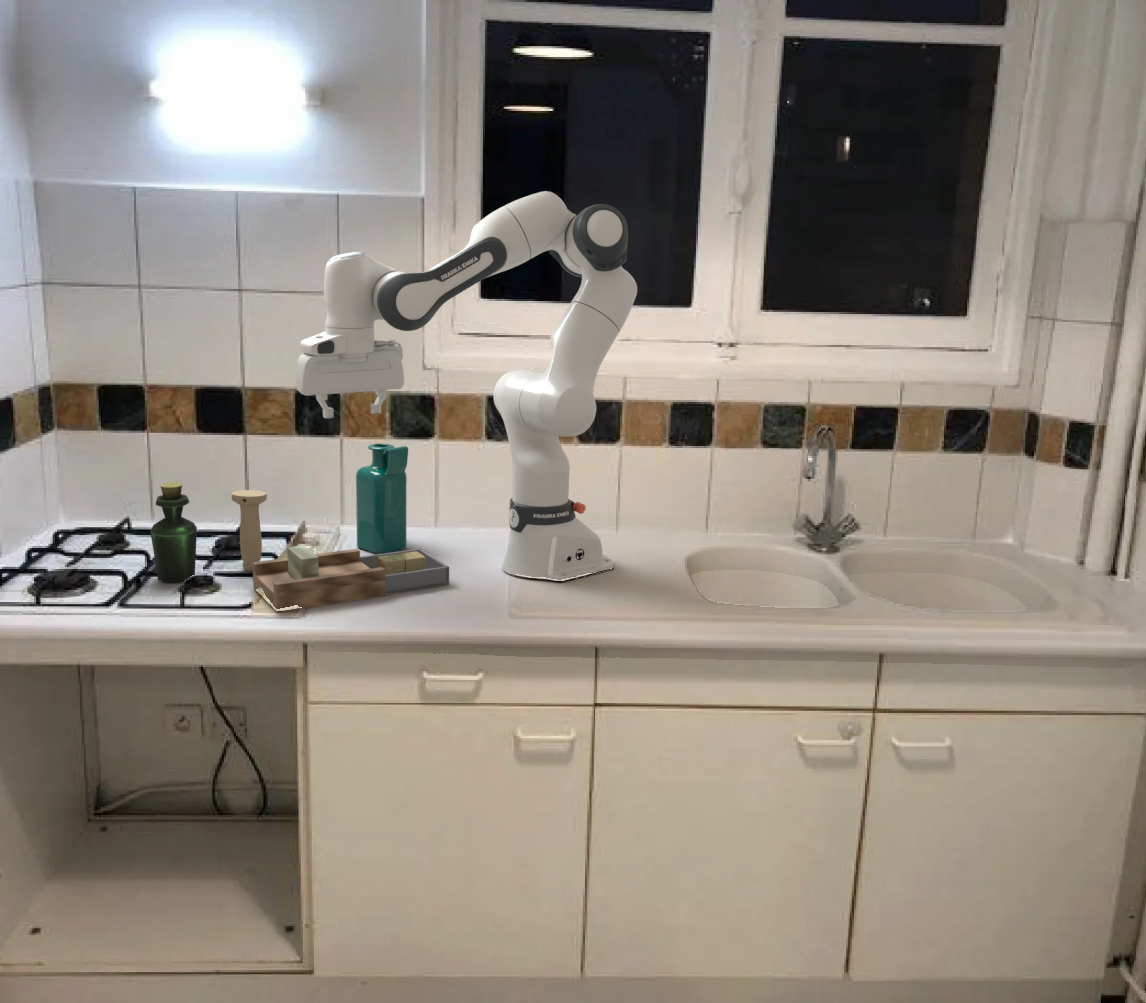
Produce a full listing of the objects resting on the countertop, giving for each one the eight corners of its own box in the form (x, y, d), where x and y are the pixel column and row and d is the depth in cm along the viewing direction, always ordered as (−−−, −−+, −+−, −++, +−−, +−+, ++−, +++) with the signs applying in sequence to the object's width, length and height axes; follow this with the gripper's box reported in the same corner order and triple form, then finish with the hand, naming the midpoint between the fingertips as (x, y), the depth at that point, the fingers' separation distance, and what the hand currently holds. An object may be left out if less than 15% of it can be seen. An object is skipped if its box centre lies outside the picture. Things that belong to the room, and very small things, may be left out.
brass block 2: (397, 573, 209) (416, 571, 211) (405, 579, 205) (425, 577, 207) (397, 553, 208) (416, 551, 210) (405, 559, 204) (425, 556, 206)
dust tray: (420, 565, 216) (420, 548, 215) (449, 584, 205) (449, 567, 204) (358, 574, 209) (358, 557, 208) (384, 594, 199) (384, 576, 198)
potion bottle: (160, 571, 206) (154, 479, 202) (204, 571, 207) (199, 479, 203) (148, 585, 199) (141, 490, 194) (193, 585, 199) (188, 490, 195)
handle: (263, 573, 208) (260, 497, 204) (230, 571, 208) (227, 495, 204) (272, 565, 212) (270, 491, 208) (240, 563, 213) (237, 489, 209)
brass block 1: (396, 573, 208) (396, 553, 207) (405, 579, 205) (405, 559, 204) (377, 576, 206) (376, 556, 205) (385, 582, 203) (385, 562, 202)
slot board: (357, 573, 210) (357, 548, 208) (385, 595, 198) (385, 569, 197) (253, 588, 199) (252, 562, 198) (276, 612, 188) (276, 584, 187)
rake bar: (304, 571, 200) (303, 545, 199) (318, 584, 194) (318, 557, 193) (288, 573, 199) (287, 547, 198) (302, 586, 192) (301, 559, 191)
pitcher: (352, 546, 226) (351, 443, 221) (384, 539, 233) (383, 438, 227) (383, 557, 220) (382, 451, 215) (415, 549, 226) (415, 445, 221)
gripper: (395, 337, 209) (396, 408, 213) (291, 342, 198) (294, 417, 202) (409, 341, 204) (410, 414, 208) (303, 346, 193) (306, 422, 197)
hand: (352, 415), depth 205 cm, fingers open, 8 cm apart
